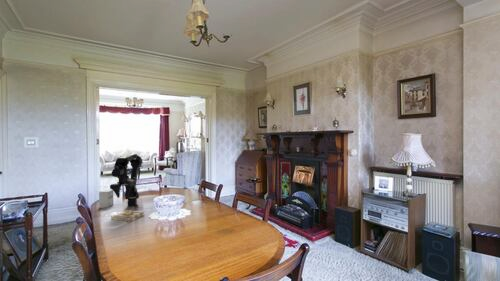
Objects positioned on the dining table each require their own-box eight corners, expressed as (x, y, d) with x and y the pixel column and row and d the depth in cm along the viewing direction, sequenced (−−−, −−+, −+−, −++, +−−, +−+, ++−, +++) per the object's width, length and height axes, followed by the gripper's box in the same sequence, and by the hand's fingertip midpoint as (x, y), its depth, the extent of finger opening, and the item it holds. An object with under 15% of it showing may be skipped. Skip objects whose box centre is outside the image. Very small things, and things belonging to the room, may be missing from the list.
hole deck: (127, 213, 174) (127, 210, 174) (144, 215, 171) (143, 211, 171) (111, 220, 161) (111, 216, 161) (129, 222, 157) (129, 217, 157)
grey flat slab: (114, 213, 177) (114, 211, 177) (122, 213, 175) (122, 212, 175) (103, 217, 168) (103, 215, 168) (112, 217, 166) (112, 216, 166)
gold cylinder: (127, 216, 168) (127, 209, 168) (132, 217, 167) (132, 209, 167) (123, 218, 164) (123, 211, 164) (128, 219, 163) (128, 211, 163)
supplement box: (108, 207, 190) (108, 191, 190) (98, 208, 190) (98, 191, 190) (113, 205, 197) (113, 189, 197) (104, 205, 197) (104, 189, 197)
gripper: (122, 177, 167) (123, 200, 167) (141, 172, 185) (141, 193, 185) (109, 176, 169) (109, 199, 170) (128, 172, 187) (129, 192, 188)
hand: (123, 196), depth 178 cm, fingers open, 9 cm apart
